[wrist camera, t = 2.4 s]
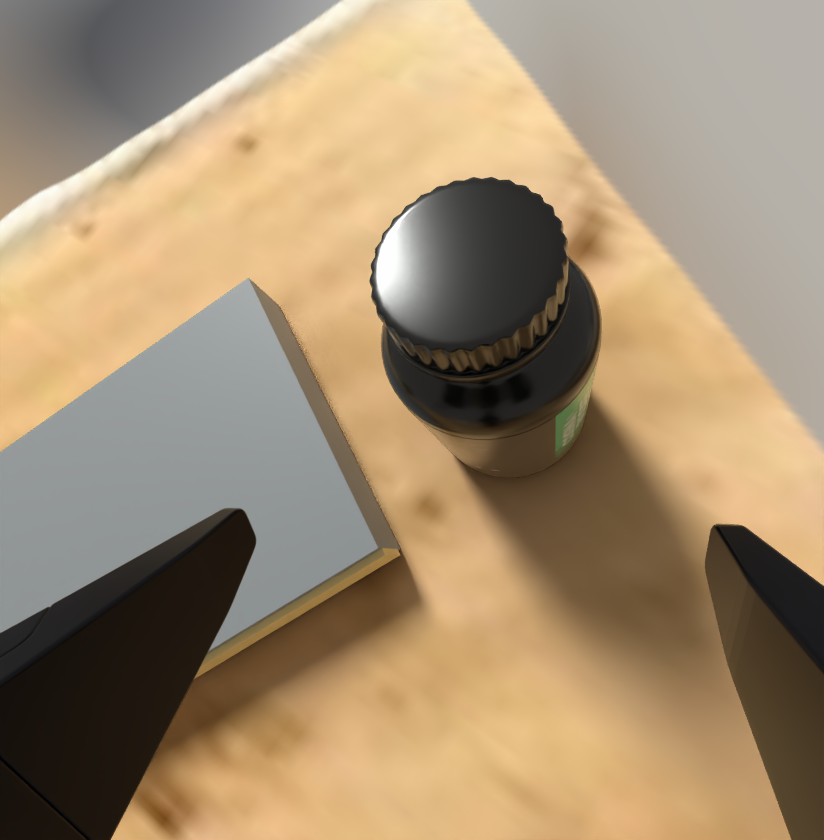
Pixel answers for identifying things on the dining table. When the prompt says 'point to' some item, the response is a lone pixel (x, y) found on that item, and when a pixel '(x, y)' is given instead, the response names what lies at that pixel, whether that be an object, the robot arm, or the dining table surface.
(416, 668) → the dining table surface
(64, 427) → the gray hardcover book
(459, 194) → the supplement bottle
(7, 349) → the dining table surface
